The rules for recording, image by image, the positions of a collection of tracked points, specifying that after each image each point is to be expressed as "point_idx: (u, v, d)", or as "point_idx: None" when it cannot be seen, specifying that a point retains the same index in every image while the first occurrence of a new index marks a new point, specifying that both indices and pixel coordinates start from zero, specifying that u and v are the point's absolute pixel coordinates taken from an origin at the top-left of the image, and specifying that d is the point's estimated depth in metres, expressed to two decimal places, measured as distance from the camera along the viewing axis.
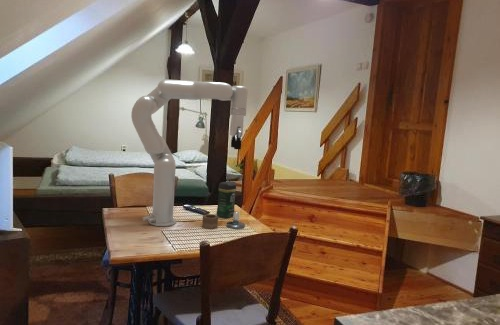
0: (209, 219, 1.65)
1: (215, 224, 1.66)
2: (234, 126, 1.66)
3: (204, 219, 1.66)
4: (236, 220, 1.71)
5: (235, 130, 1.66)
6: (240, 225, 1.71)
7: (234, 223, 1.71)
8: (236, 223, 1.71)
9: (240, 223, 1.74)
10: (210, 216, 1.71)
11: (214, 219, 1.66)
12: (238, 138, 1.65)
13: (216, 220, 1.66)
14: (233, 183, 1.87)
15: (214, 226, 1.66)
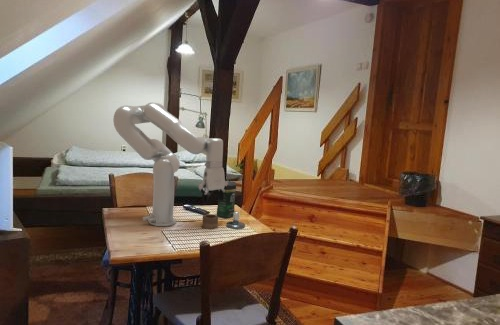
0: (209, 219, 1.65)
1: (215, 224, 1.66)
2: None
3: (204, 219, 1.66)
4: (236, 220, 1.71)
5: None
6: (240, 225, 1.71)
7: (234, 223, 1.71)
8: (236, 223, 1.71)
9: (240, 223, 1.74)
10: (210, 216, 1.71)
11: (214, 219, 1.66)
12: None
13: (216, 220, 1.66)
14: (233, 183, 1.87)
15: (214, 226, 1.66)
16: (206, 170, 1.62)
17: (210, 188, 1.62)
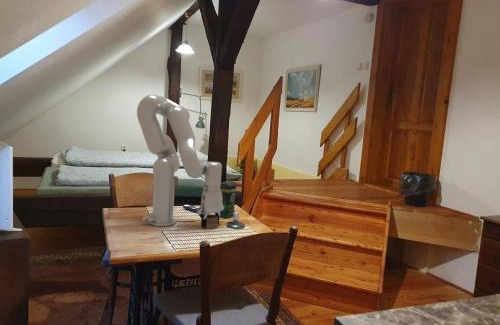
0: (209, 219, 1.65)
1: (215, 224, 1.66)
2: None
3: None
4: (236, 220, 1.71)
5: None
6: (240, 225, 1.71)
7: (234, 223, 1.71)
8: (236, 223, 1.71)
9: (240, 223, 1.74)
10: (210, 216, 1.71)
11: (214, 219, 1.65)
12: None
13: (216, 220, 1.66)
14: (233, 183, 1.87)
15: (214, 226, 1.66)
16: (204, 194, 1.63)
17: (208, 212, 1.63)
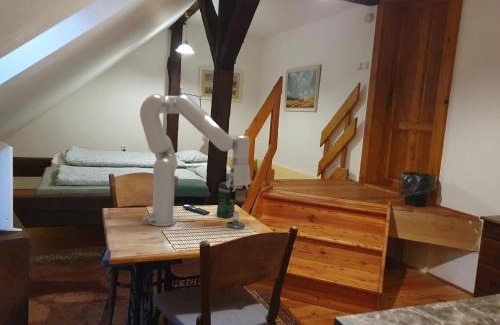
0: (238, 192, 1.67)
1: (244, 197, 1.69)
2: None
3: None
4: (236, 220, 1.71)
5: None
6: (240, 225, 1.71)
7: (234, 223, 1.71)
8: (236, 223, 1.71)
9: (240, 223, 1.74)
10: (238, 190, 1.73)
11: (243, 192, 1.68)
12: None
13: (245, 193, 1.69)
14: None
15: (243, 199, 1.68)
16: (233, 166, 1.66)
17: (237, 184, 1.65)
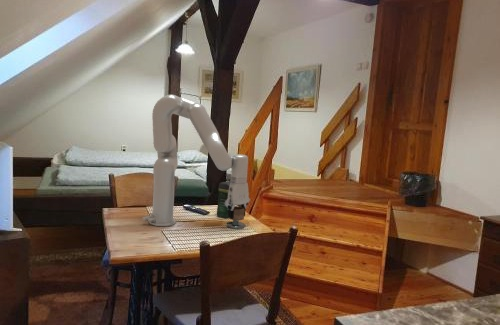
0: (236, 210, 1.68)
1: (242, 215, 1.70)
2: None
3: None
4: (236, 220, 1.71)
5: None
6: (240, 225, 1.71)
7: (234, 223, 1.71)
8: (236, 223, 1.71)
9: (240, 223, 1.74)
10: (236, 208, 1.74)
11: (241, 210, 1.69)
12: None
13: (243, 211, 1.70)
14: None
15: (241, 217, 1.69)
16: (231, 186, 1.67)
17: (235, 203, 1.66)
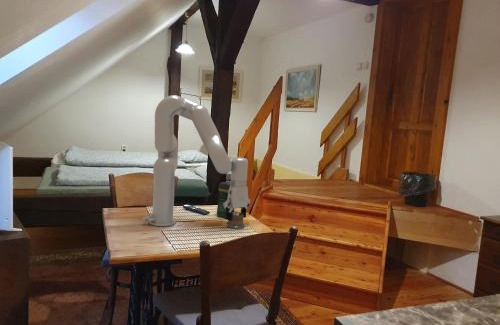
0: (235, 217, 1.68)
1: (241, 221, 1.70)
2: None
3: None
4: None
5: None
6: None
7: None
8: None
9: None
10: None
11: (240, 217, 1.69)
12: None
13: (242, 218, 1.70)
14: None
15: (240, 223, 1.70)
16: (231, 189, 1.67)
17: (234, 206, 1.67)
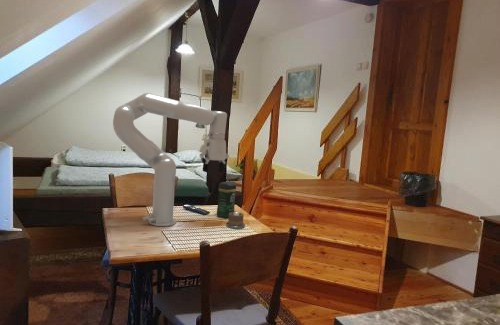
0: (235, 217, 1.68)
1: (241, 221, 1.70)
2: None
3: (230, 217, 1.70)
4: None
5: None
6: None
7: None
8: None
9: None
10: None
11: (240, 217, 1.69)
12: None
13: (242, 218, 1.70)
14: (233, 183, 1.87)
15: (240, 223, 1.70)
16: (209, 140, 1.70)
17: (211, 158, 1.70)
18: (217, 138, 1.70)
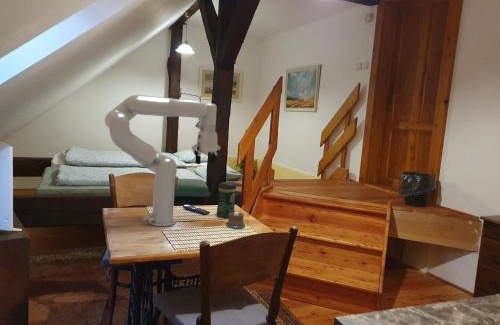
0: (235, 217, 1.68)
1: (241, 221, 1.70)
2: None
3: (230, 217, 1.70)
4: None
5: None
6: None
7: None
8: None
9: None
10: None
11: (240, 217, 1.69)
12: None
13: (242, 218, 1.70)
14: (233, 183, 1.87)
15: (240, 223, 1.70)
16: (200, 133, 1.72)
17: (203, 150, 1.72)
18: (208, 130, 1.72)
